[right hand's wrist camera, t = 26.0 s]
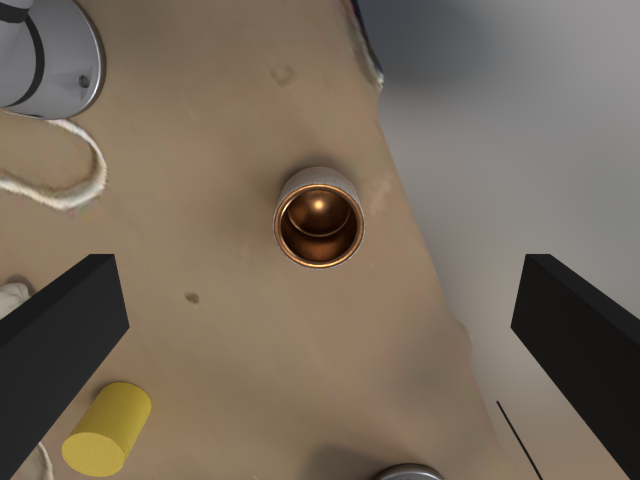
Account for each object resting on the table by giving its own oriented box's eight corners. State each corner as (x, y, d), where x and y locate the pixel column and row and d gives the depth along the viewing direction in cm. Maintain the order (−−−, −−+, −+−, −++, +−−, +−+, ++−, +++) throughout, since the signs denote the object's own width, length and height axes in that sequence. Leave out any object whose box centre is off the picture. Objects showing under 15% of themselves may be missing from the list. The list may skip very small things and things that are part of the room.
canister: (132, 430, 69) (102, 485, 60) (88, 403, 67) (50, 456, 57) (162, 402, 67) (135, 454, 57) (117, 372, 64) (82, 422, 55)
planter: (374, 210, 54) (385, 235, 45) (313, 255, 57) (311, 287, 48) (325, 148, 51) (326, 161, 42) (263, 198, 53) (251, 221, 44)
